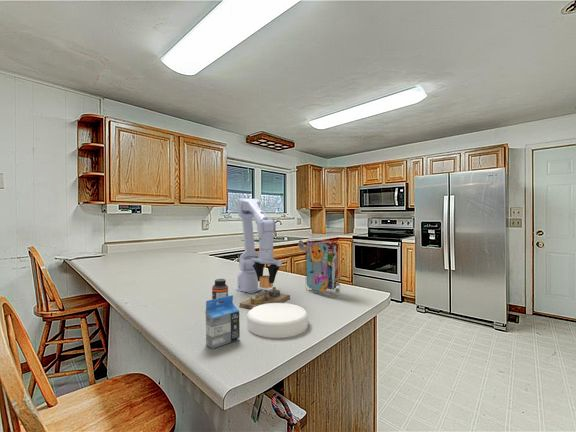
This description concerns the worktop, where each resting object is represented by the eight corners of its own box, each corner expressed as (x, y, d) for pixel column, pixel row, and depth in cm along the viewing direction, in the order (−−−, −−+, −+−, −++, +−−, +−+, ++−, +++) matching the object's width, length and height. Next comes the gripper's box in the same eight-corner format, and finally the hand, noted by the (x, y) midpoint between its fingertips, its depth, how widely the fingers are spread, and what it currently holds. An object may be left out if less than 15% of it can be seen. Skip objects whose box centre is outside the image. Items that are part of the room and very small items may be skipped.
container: (234, 325, 94) (234, 311, 94) (279, 310, 108) (279, 298, 108) (275, 345, 80) (275, 328, 80) (320, 325, 94) (320, 311, 94)
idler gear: (256, 286, 117) (256, 277, 117) (265, 284, 121) (265, 274, 121) (267, 288, 114) (267, 278, 114) (275, 286, 118) (275, 276, 118)
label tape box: (212, 349, 76) (212, 304, 76) (205, 344, 79) (205, 300, 79) (240, 340, 82) (240, 297, 82) (232, 335, 85) (232, 294, 85)
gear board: (239, 306, 112) (239, 294, 112) (269, 294, 129) (269, 283, 129) (262, 311, 106) (262, 298, 106) (289, 298, 123) (289, 286, 123)
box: (293, 287, 142) (293, 238, 142) (302, 285, 146) (302, 237, 146) (330, 299, 123) (331, 242, 123) (340, 296, 127) (340, 241, 126)
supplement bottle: (211, 307, 111) (211, 278, 111) (226, 305, 113) (226, 277, 113) (212, 312, 105) (213, 282, 105) (229, 310, 107) (229, 280, 107)
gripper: (286, 249, 116) (286, 282, 116) (258, 246, 125) (258, 277, 125) (275, 250, 111) (275, 285, 111) (248, 248, 119) (247, 280, 119)
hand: (266, 281), depth 117 cm, fingers closed on idler gear, 5 cm apart
